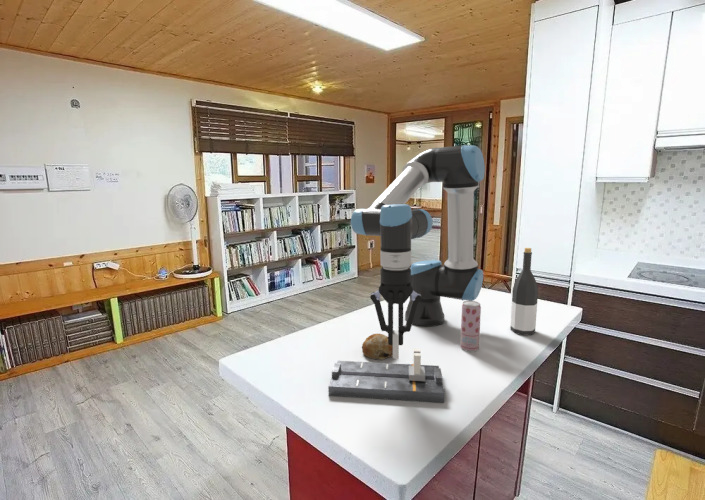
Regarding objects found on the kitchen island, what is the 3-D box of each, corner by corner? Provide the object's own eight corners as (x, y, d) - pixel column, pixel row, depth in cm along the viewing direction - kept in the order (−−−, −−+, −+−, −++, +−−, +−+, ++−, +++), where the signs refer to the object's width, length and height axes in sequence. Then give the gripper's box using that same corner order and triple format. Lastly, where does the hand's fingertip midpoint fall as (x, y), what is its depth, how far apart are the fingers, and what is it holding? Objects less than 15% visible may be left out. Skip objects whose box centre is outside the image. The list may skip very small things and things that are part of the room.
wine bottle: (523, 337, 127) (529, 250, 123) (505, 329, 135) (510, 247, 130) (540, 333, 130) (546, 248, 126) (521, 325, 138) (526, 245, 133)
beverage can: (459, 350, 117) (461, 304, 115) (461, 343, 122) (462, 299, 120) (478, 353, 115) (480, 306, 113) (479, 346, 120) (481, 301, 118)
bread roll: (368, 371, 112) (374, 353, 107) (354, 346, 119) (359, 328, 115) (396, 364, 116) (403, 346, 112) (380, 340, 124) (386, 323, 119)
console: (328, 395, 92) (328, 380, 92) (338, 368, 106) (337, 355, 105) (444, 402, 88) (444, 387, 88) (438, 374, 102) (438, 360, 102)
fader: (409, 380, 94) (409, 355, 92) (408, 371, 98) (409, 347, 97) (425, 381, 93) (425, 356, 92) (424, 371, 98) (424, 348, 97)
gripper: (368, 270, 89) (369, 361, 93) (423, 270, 88) (422, 364, 92) (370, 263, 97) (371, 348, 101) (421, 264, 95) (420, 350, 99)
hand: (395, 356), depth 96 cm, fingers closed
